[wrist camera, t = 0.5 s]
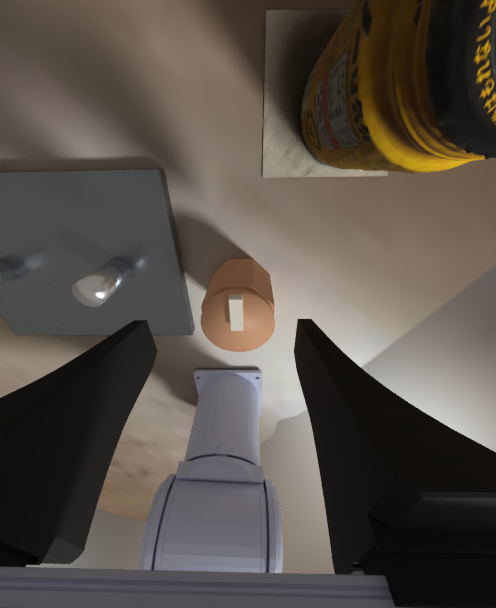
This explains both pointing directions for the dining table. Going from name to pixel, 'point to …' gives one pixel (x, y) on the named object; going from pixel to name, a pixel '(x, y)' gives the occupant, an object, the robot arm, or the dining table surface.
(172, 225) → the hub plate
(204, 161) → the dining table surface
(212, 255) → the dining table surface
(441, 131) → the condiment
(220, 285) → the knob
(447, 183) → the dining table surface
